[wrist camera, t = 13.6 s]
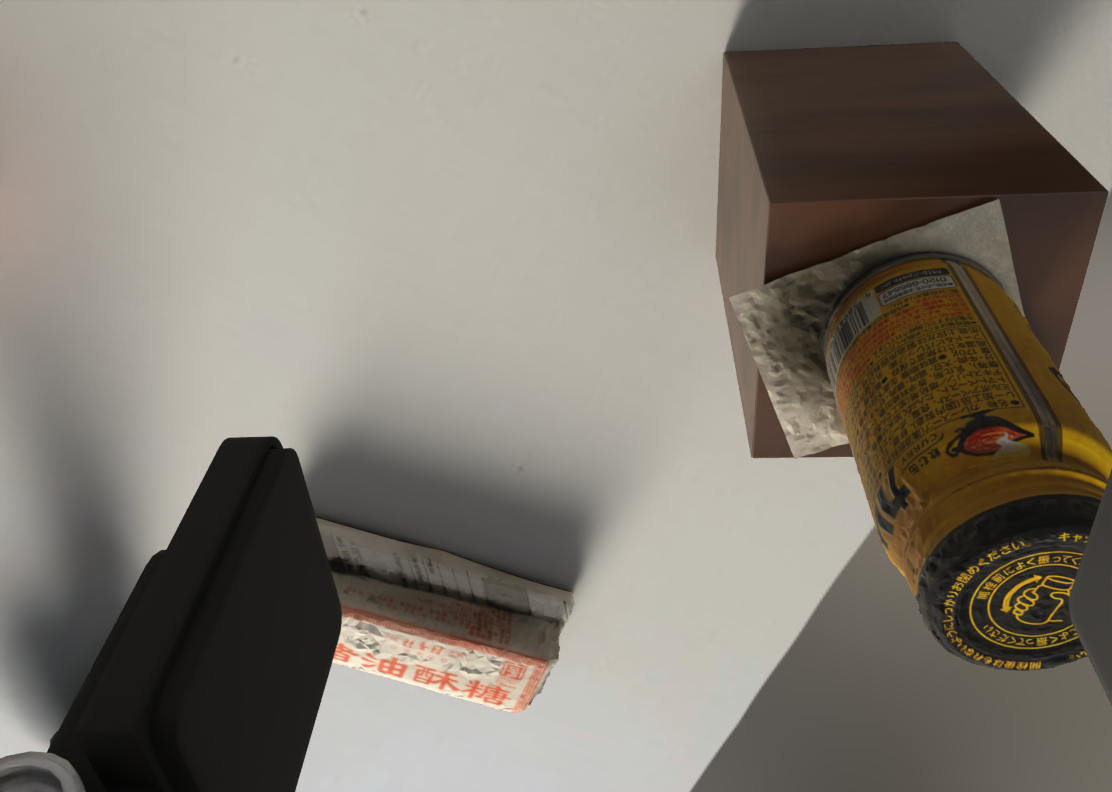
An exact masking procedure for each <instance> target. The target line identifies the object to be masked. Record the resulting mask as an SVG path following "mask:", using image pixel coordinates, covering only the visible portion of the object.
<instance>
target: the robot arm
mask: <svg viewBox="0 0 1112 792" xmlns="http://www.w3.org/2000/svg"><path fill="white" fill-rule="evenodd" d="M1069 612H1070V617H1071V621H1072V624H1073V626H1074V629H1075V631H1076V633H1077V635H1078V637H1079V639H1080V641H1081V643H1082V645H1083V647H1084V649H1085V651H1086V653H1087V656H1088V658H1089V660H1090V662H1091V664H1092V666H1093V668H1094V670H1095V672H1096V674H1097V676H1098V678H1099V680H1100V682H1101V684H1102V686H1103V688H1104V690H1105V692H1106V694H1107V696H1108V699H1109V700H1110V702H1111V705H1112V469H1111V472H1110V475H1109V478H1108V481H1107V484H1106V487H1105V490H1104V493H1103V496H1102V499H1101V502H1100V505H1099V508H1098V511H1097V514H1096V517H1095V520H1094V523H1093V526H1092V529H1091V532H1090V535H1089V538H1088V541H1087V544H1086V547H1085V550H1084V553H1083V556H1082V559H1081V562H1080V565H1079V568H1078V571H1077V574H1076V577H1075V580H1074V583H1073V586H1072V589H1071V592H1070V596H1069ZM341 625H342V610H341V604H340V600H339V596H338V593H337V589H336V586H335V582H334V579H333V576H332V572H331V569H330V565H329V562H328V558H327V555H326V551H325V548H324V544H323V541H322V538H321V534H320V531H319V527H318V524H317V520H316V517H315V513H314V510H313V506H312V503H311V500H310V496H309V493H308V489H307V486H306V482H305V479H304V475H303V472H302V468H301V465H300V462H299V458H298V456H297V453H296V452H295V450H294V449H291V448H284V449H283V447H282V445H281V442H280V441H279V440H278V439H277V438H276V437H239V438H227V439H225V440H224V441H223V442H222V444H221V445H220V447H219V449H218V451H217V453H216V455H215V457H214V459H213V461H212V462H211V464H210V466H209V468H208V470H207V472H206V474H205V476H204V478H203V480H202V482H201V484H200V486H199V488H198V490H197V492H196V493H195V495H194V497H193V499H192V501H191V503H190V505H189V507H188V509H187V511H186V513H185V515H184V517H183V519H182V521H181V523H180V524H179V526H178V528H177V530H176V532H175V534H174V536H173V538H172V540H171V542H170V544H169V546H168V548H167V550H161V551H159V552H158V553H156V554H155V555H153V556H152V558H151V559H150V561H149V562H148V564H147V565H146V566H145V568H144V570H143V572H142V574H141V576H140V578H139V580H138V581H137V583H136V585H135V587H134V589H133V591H132V593H131V595H130V597H129V598H128V600H127V602H126V604H125V606H124V608H123V610H122V612H121V614H120V615H119V617H118V619H117V621H116V623H115V625H114V627H113V629H112V631H111V632H110V634H109V636H108V638H107V640H106V642H105V644H104V646H103V648H102V649H101V651H100V653H99V655H98V657H97V659H96V661H95V663H94V664H93V666H92V668H91V670H90V672H89V674H88V676H87V678H86V680H85V681H84V683H83V685H82V687H81V689H80V691H79V693H78V695H77V697H76V698H75V700H74V702H73V704H72V706H71V708H70V710H69V712H68V714H67V715H66V717H65V719H64V721H63V723H62V725H61V727H60V729H59V731H58V732H57V734H56V736H55V738H54V740H53V742H52V744H51V746H50V747H49V749H48V751H47V753H43V752H31V751H30V752H25V753H20V754H15V755H10V756H6V757H3V758H1V759H0V792H295V790H296V786H297V783H298V779H299V776H300V772H301V769H302V765H303V762H304V758H305V755H306V751H307V748H308V744H309V741H310V738H311V734H312V731H313V727H314V724H315V720H316V717H317V713H318V710H319V706H320V703H321V699H322V696H323V692H324V689H325V685H326V682H327V678H328V675H329V671H330V668H331V664H332V661H333V658H334V654H335V651H336V647H337V644H338V640H339V637H340V632H341Z"/></svg>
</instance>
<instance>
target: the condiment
mask: <svg viewBox="0 0 1112 792" xmlns="http://www.w3.org/2000/svg"><path fill="white" fill-rule="evenodd" d="M729 300H730V302H731V305H732V307H733V310H734V312H735V314H736V316H737V319H738V321H739V323H740V326H741V328H742V331H743V333H744V336H745V338H746V340H747V343H748V345H749V348H750V350H751V353H752V355H753V358H754V360H755V362H756V365H757V367H758V370H759V372H760V375H761V377H762V380H763V382H764V384H765V387H766V389H767V391H768V394H769V397H770V399H771V402H772V404H773V407H774V409H775V411H776V414H777V417H778V419H779V421H780V424H781V426H782V429H783V431H784V433H785V436H786V439H787V441H788V444H789V446H790V449H791V451H792V453H793V456H794V459H796V458H799V457H802V456H805V455H809V454H815V453H818V452H821V451H824V450H826V449H829V448H831V447H835V446H838V445H844V444H848V443H849V444H850V446H851V450H852V454H853V456H854V458H855V461H856V464H857V469H858V472H859V474H860V476H861V480H862V484H863V487H864V490H865V493H866V497H867V500H868V503H869V506H870V510H871V513H872V516H873V520H874V523H875V526H876V531H877V535H878V537H879V540H880V542H881V544H882V546H883V548H884V550H885V551H886V553H887V556H888V557H889V558H890V560H891V562H892V563H893V564H894V565H895V566H896V567H897V568H898V569H899V570H900V572H901V573H902V574H903V575H904V576H905V577H907V581H908V584H909V586H910V589H911V591H912V593H913V594H914V595H915V597H916V599H917V601H918V604H919V611H920V613H921V614H922V618H923V621H924V623H925V625H926V627H927V628H928V630H929V631H930V632H931V633H932V635H933V636H934V638H935V640H936V641H937V642H939V643H940V644H941V645H942V646H943V647H944V649H946V650H947V651H948V652H949V653H951V654H954V655H956V656H958V657H960V658H962V659H963V660H966V661H968V662H970V663H973V664H976V665H981V666H985V667H990V668H995V669H1005V670H1018V671H1028V670H1040V669H1047V668H1054V667H1056V666H1059V665H1063V664H1066V663H1070V662H1074V661H1076V660H1078V659H1081V658H1083V657H1087V653H1086V651H1085V649H1084V647H1083V645H1082V643H1081V641H1080V639H1079V637H1078V635H1077V633H1076V631H1075V629H1074V626H1073V624H1072V621H1071V617H1070V612H1069V596H1070V592H1071V589H1072V586H1073V583H1074V580H1075V577H1076V574H1077V571H1078V568H1079V565H1080V562H1081V559H1082V556H1083V553H1084V550H1085V547H1086V544H1087V541H1088V538H1089V535H1090V532H1091V529H1092V526H1093V523H1094V520H1095V517H1096V514H1097V511H1098V508H1099V505H1100V502H1101V499H1102V496H1103V493H1104V490H1105V487H1106V484H1107V481H1108V478H1109V475H1110V472H1111V469H1112V450H1111V448H1110V446H1109V444H1108V442H1107V441H1106V440H1105V438H1104V437H1103V435H1102V433H1101V432H1100V431H1099V429H1098V428H1097V427H1096V426H1095V425H1094V423H1093V422H1092V421H1091V420H1090V418H1089V417H1088V415H1087V413H1086V411H1085V409H1084V408H1083V407H1082V406H1081V404H1080V402H1079V401H1078V399H1077V398H1076V397H1075V396H1074V394H1073V393H1072V392H1071V390H1070V387H1069V385H1068V384H1067V383H1066V382H1065V381H1064V379H1063V377H1062V375H1061V374H1060V371H1059V369H1058V368H1057V367H1056V366H1055V365H1054V363H1053V361H1052V359H1051V357H1050V355H1049V354H1048V352H1047V351H1046V350H1045V349H1044V347H1043V346H1042V345H1041V344H1040V342H1039V340H1038V339H1037V338H1036V336H1035V334H1034V333H1033V331H1032V330H1031V328H1030V326H1029V323H1028V321H1027V319H1026V318H1025V315H1024V312H1023V307H1022V303H1021V298H1020V293H1019V288H1018V284H1017V279H1016V275H1015V270H1014V266H1013V261H1012V256H1011V250H1010V246H1009V240H1008V236H1007V231H1006V226H1005V222H1004V217H1003V213H1002V208H1001V204H1000V200H999V199H998V200H995V201H992V202H989V203H987V204H984V205H981V206H978V207H975V208H972V209H969V210H966V211H963V212H960V213H957V214H954V215H951V216H948V217H945V218H942V219H939V220H936V221H934V222H931V223H929V224H927V225H925V226H922V227H918V228H914V229H911V230H908V231H905V232H903V233H900V234H897V235H894V236H892V237H889V238H888V239H886V240H882V241H878V242H875V243H873V244H871V245H868V246H866V247H863V248H861V249H859V250H855V251H852V252H850V253H848V254H846V255H844V256H842V257H840V258H837V259H835V260H832V261H829V262H825V263H821V264H818V265H815V266H812V267H810V268H807V269H805V270H802V271H798V272H795V273H792V274H789V275H786V276H784V277H782V278H779V279H777V280H774V281H772V282H770V283H768V284H766V285H763V286H761V287H759V288H756V289H752V290H749V291H746V292H743V293H740V294H738V295H735V296H732V297H729Z"/></svg>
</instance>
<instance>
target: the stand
mask: <svg viewBox="0 0 1112 792" xmlns="http://www.w3.org/2000/svg"><path fill="white" fill-rule="evenodd" d="M1107 196H1108V191H1107V190H1106V189H1105V188H1104V187H1103V186H1102V185H1101V184H1100V183H1099V182H1098V181H1097V180H1096V179H1095V178H1094V177H1093V176H1092V175H1091V174H1090V173H1089V172H1088V171H1087V170H1086V169H1085V168H1084V167H1083V166H1082V165H1081V164H1080V163H1079V162H1078V161H1077V160H1076V159H1075V158H1074V157H1073V156H1072V155H1071V154H1070V153H1069V152H1068V151H1067V150H1066V149H1065V148H1064V147H1063V146H1062V145H1061V144H1060V143H1059V142H1058V141H1057V140H1056V139H1055V138H1054V137H1053V136H1052V135H1051V134H1050V133H1049V132H1048V131H1047V130H1046V129H1045V128H1044V127H1043V126H1042V125H1041V124H1040V123H1039V122H1038V121H1037V120H1036V119H1035V118H1034V117H1033V116H1032V115H1031V114H1030V113H1029V112H1028V111H1027V110H1026V109H1025V108H1024V107H1023V106H1022V105H1021V104H1020V103H1019V102H1018V101H1017V100H1016V99H1015V98H1014V97H1013V96H1012V95H1010V94H1009V93H1008V92H1007V91H1006V90H1005V89H1004V88H1003V87H1002V86H1001V85H1000V84H999V83H998V82H997V81H996V80H995V79H994V78H993V77H992V76H991V75H990V74H989V73H988V72H987V71H986V70H985V69H984V68H983V67H982V66H981V65H980V64H979V63H978V62H977V61H976V60H975V59H974V58H973V57H972V56H971V55H970V54H969V53H968V52H967V51H966V50H965V49H964V48H963V47H962V46H961V45H960V44H959V43H958V42H945V43H922V44H900V45H877V46H855V47H832V48H810V49H787V50H765V51H742V52H724V54H723V80H722V106H721V133H720V159H719V185H718V212H717V238H716V261H717V266H718V272H719V278H720V283H721V289H722V294H723V300H724V306H725V311H726V317H727V323H728V328H729V334H730V340H731V345H732V351H733V356H734V362H735V368H736V373H737V379H738V385H739V390H740V396H741V401H742V407H743V413H744V418H745V424H746V430H747V435H748V441H749V447H750V452H751V457H752V458H794V456H793V453H792V451H791V449H790V446H789V444H788V441H787V439H786V436H785V433H784V431H783V429H782V426H781V424H780V421H779V419H778V417H777V414H776V411H775V409H774V407H773V404H772V402H771V399H770V397H769V394H768V391H767V389H766V387H765V384H764V382H763V380H762V377H761V375H760V372H759V370H758V367H757V365H756V362H755V360H754V358H753V355H752V353H751V350H750V348H749V345H748V343H747V340H746V338H745V336H744V333H743V331H742V328H741V326H740V323H739V321H738V319H737V316H736V314H735V312H734V310H733V307H732V305H731V302H730V300H729V297H732V296H735V295H738V294H740V293H743V292H746V291H749V290H752V289H756V288H759V287H761V286H763V285H766V284H768V283H770V282H772V281H774V280H777V279H779V278H782V277H784V276H786V275H789V274H792V273H795V272H798V271H802V270H805V269H807V268H810V267H812V266H815V265H818V264H821V263H825V262H829V261H832V260H835V259H837V258H840V257H842V256H844V255H846V254H848V253H850V252H852V251H855V250H859V249H861V248H863V247H866V246H868V245H871V244H873V243H875V242H878V241H882V240H886V239H888V238H889V237H892V236H894V235H897V234H900V233H903V232H905V231H908V230H911V229H914V228H918V227H922V226H925V225H927V224H929V223H931V222H934V221H936V220H939V219H942V218H945V217H948V216H951V215H954V214H957V213H960V212H963V211H966V210H969V209H972V208H975V207H978V206H981V205H984V204H987V203H989V202H992V201H995V200H998V199H999V200H1000V204H1001V208H1002V213H1003V217H1004V222H1005V226H1006V231H1007V236H1008V240H1009V246H1010V250H1011V256H1012V261H1013V266H1014V270H1015V275H1016V279H1017V284H1018V288H1019V293H1020V298H1021V303H1022V307H1023V312H1024V315H1025V318H1026V319H1027V321H1028V323H1029V326H1030V328H1031V330H1032V331H1033V333H1034V334H1035V336H1036V338H1037V339H1038V340H1039V342H1040V344H1041V345H1042V346H1043V347H1044V349H1045V350H1046V351H1047V352H1048V354H1049V355H1050V357H1051V359H1052V361H1053V363H1054V365H1055V366H1056V367H1057V368H1058V369H1059V368H1060V364H1061V360H1062V357H1063V353H1064V350H1065V346H1066V342H1067V339H1068V335H1069V332H1070V328H1071V324H1072V321H1073V317H1074V314H1075V310H1076V306H1077V303H1078V300H1079V296H1080V292H1081V289H1082V285H1083V282H1084V277H1085V274H1086V271H1087V267H1088V264H1089V260H1090V256H1091V253H1092V249H1093V246H1094V242H1095V239H1096V235H1097V231H1098V227H1099V224H1100V221H1101V217H1102V213H1103V210H1104V206H1105V203H1106V199H1107ZM802 457H854V456H853V454H852V450H851V446H850V444H849V443H848V444H844V445H838V446H835V447H831V448H829V449H826V450H824V451H821V452H818V453H815V454H809V455H805V456H802Z"/></svg>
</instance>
